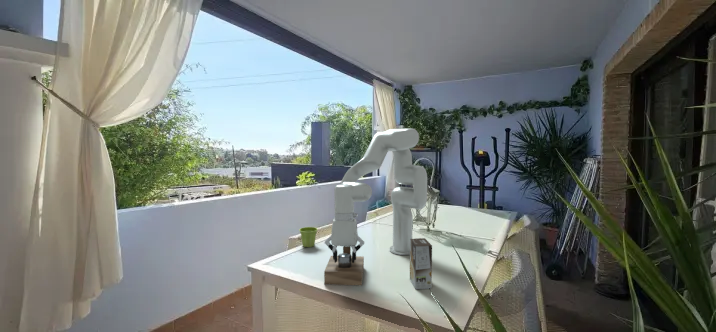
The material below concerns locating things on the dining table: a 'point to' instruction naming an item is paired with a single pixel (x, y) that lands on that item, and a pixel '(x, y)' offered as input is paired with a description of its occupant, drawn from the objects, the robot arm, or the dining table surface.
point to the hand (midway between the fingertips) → (344, 261)
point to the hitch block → (344, 271)
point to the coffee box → (421, 263)
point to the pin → (344, 260)
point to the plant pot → (308, 236)
